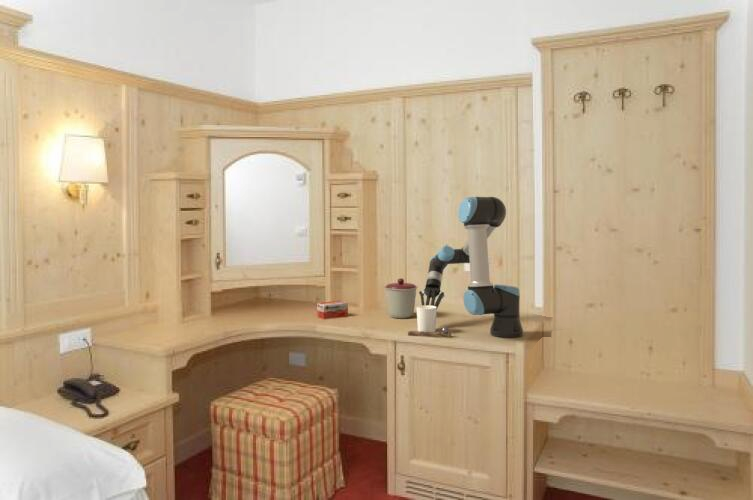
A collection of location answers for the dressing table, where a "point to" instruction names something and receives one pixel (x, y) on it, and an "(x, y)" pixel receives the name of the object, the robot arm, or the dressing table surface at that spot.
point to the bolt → (445, 330)
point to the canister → (400, 299)
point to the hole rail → (428, 334)
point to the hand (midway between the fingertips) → (427, 320)
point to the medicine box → (332, 309)
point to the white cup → (426, 318)
